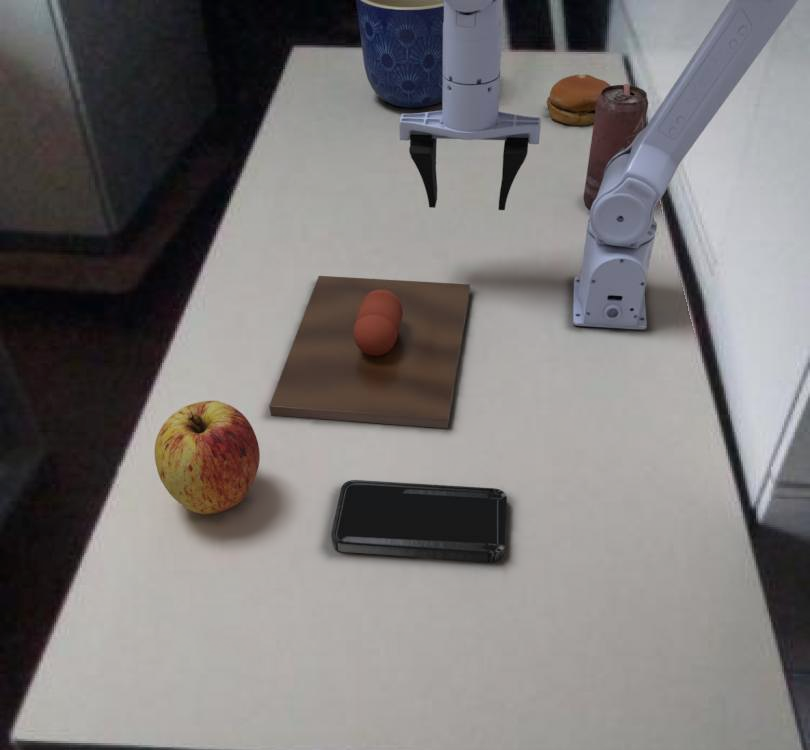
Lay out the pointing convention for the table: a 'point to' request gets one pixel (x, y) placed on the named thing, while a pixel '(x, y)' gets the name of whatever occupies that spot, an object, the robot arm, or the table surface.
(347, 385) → the board
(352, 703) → the table surface
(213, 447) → the apple
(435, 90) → the planter
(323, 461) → the table surface
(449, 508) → the phone
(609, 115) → the can
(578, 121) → the burger
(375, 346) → the sweet potato
